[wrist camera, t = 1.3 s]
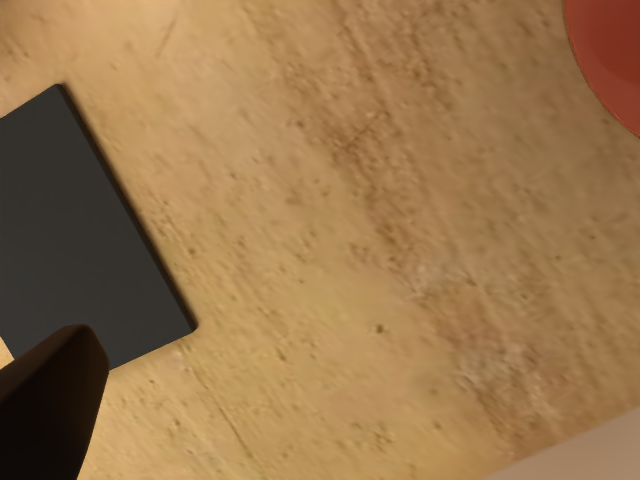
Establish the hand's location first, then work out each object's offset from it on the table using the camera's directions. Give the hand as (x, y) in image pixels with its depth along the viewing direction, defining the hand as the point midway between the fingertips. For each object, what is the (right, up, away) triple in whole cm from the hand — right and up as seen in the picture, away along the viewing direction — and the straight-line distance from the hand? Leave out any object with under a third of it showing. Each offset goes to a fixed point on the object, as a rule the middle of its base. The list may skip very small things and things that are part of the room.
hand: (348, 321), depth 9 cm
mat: (-13, +1, +17) cm, 21 cm away
